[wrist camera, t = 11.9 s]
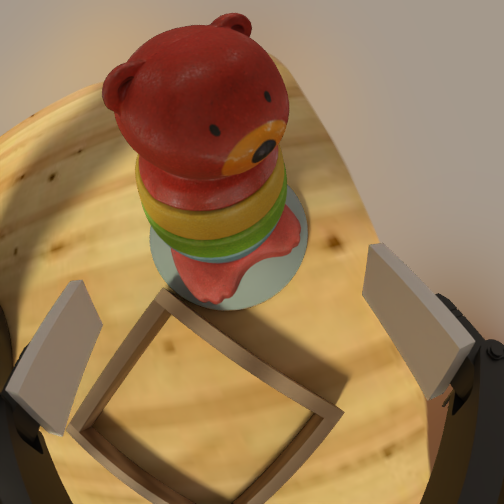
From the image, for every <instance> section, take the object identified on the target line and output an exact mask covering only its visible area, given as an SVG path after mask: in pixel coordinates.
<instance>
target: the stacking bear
mask: <svg viewBox="0 0 504 504" xmlns="http://www.w3.org/2000/svg"><path fill="white" fill-rule="evenodd" d="M251 30H252V26H251V22H250V21H249V20H248V18H247V17H246V16H244V15H242V14H238V13H229V14H224V15H222V16H220V17H218V18H217V19H215V20H214V21H213V22H212V23H211V24H210V25H191V26H185V27H180V28H175V29H172V30H169V31H166V32H163V33H161V34H159V35H156V36H155V37H153V38H151V39H150V40H148V41H147V42H146V43H144V44H143V45H142V46H141V47H139V48H138V50H136V52H135V53H134V54H133V55H132V56H131V57H130V59H129V60H128V61H127V62H126V63H124V64H121V65H119V66H117V67H116V68H114V69H113V70H112V71H111V72H110V73H109V74H108V76H107V77H106V79H105V81H104V84H103V88H102V98H103V100H104V103H105V105H106V107H107V108H108V109H110V110H112V111H114V114H115V118H116V122H117V124H118V127H119V129H120V131H121V133H122V135H123V136H124V138H125V139H126V141H127V142H128V143H129V145H130V146H131V147H132V148H133V149H134V150H135V151H136V152H137V153H138V156H137V160H136V166H135V175H136V183H137V188H138V192H139V195H140V199H141V203H142V206H143V209H144V212H145V214H146V217H147V219H148V221H149V223H150V224H151V226H152V228H153V229H154V231H155V232H156V233H157V235H158V236H159V237H160V238H161V239H162V240H163V241H164V242H165V243H166V244H167V245H168V246H169V247H170V248H171V253H172V257H173V260H174V263H175V266H176V269H177V271H178V273H179V275H180V277H181V279H182V280H183V282H184V284H185V285H186V287H187V288H188V289H189V291H190V292H191V293H192V294H193V295H194V296H195V298H197V299H198V300H199V301H201V302H203V303H206V302H211V303H213V304H220V303H221V302H222V301H223V300H224V299H228V298H231V297H232V296H233V295H234V294H235V292H236V290H237V288H238V285H239V283H240V281H241V279H242V277H243V276H244V274H245V273H246V272H247V270H248V269H249V268H250V267H252V266H253V265H254V264H256V263H257V262H259V261H261V260H264V259H267V258H272V257H282V256H285V255H288V254H289V253H291V251H292V249H293V248H295V247H297V246H298V245H299V242H300V232H301V225H300V222H299V220H298V219H297V217H296V216H295V214H294V213H293V212H292V211H291V209H290V208H289V207H288V206H287V205H286V204H285V202H286V197H287V176H286V169H285V164H284V161H283V156H282V152H281V148H280V145H279V142H280V141H281V139H282V137H283V135H284V132H285V129H286V125H287V122H288V116H289V100H288V94H287V91H286V87H285V84H284V82H283V79H282V77H281V75H280V73H279V71H278V69H277V67H276V65H275V63H274V62H273V60H272V59H271V58H270V56H269V55H268V53H267V52H266V51H265V50H264V49H263V48H262V47H261V46H260V45H259V44H258V43H256V42H255V41H254V40H252V39H251V38H249V37H250V34H251Z"/></svg>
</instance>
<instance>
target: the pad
mask: <svg viewBox="0 0 504 504" xmlns="http://www.w3.org/2000/svg"><path fill="white" fill-rule="evenodd" d="M285 204H286V205H287V206H288V207H289V208H290V209H291V211H292V212H293V213H294V214H295V216H296V217H297V219H298V220H299V222H300V225H301V232H300V242H299V245H298V246H297V247H295V248H293V249H292V251H291V253H289V254H288V255H285V256H282V257H272V258H267V259H264V260H261V261H259V262H257V263H256V264H254V265H253V266H252V267H250V268H249V269H248V270H247V272H246V273H245V274H244V276H243V277H242V279H241V281H240V283H239V285H238V288H237V290H236V292H235V294H234V295H233V296H232V297H231V298H228V299H224V300H223V301H222V302H221V303H220V304H213V303H211V302H206V303H203V302H201V301H199V300H198V299H197V298H195V296H194V295H193V294H192V293H191V292H190V291H189V289H188V288H187V287H186V285H185V284H184V282H183V280H182V279H181V277H180V275H179V273H178V271H177V269H176V266H175V263H174V260H173V257H172V253H171V248H170V247H169V246H168V245H167V244H166V243H165V242H164V241H163V240H162V239H161V238H160V237H159V236H158V235H157V233H156V232H155V231H154V229H153V228H152V226H151V228H150V248H151V253H152V257H153V260H154V263H155V265H156V268H157V270H158V271H159V273H160V275H161V276H162V278H163V279H164V280H165V282H166V283H167V284H168V285H169V286H170V287H171V288H172V289H173V290H174V291H175V292H176V293H177V294H179V295H180V296H182V297H183V298H185V299H186V300H188V301H190V302H192V303H194V304H196V305H199V306H201V307H204V308H208V309H213V310H219V311H234V310H242V309H246V308H251V307H253V306H256V305H259V304H261V303H263V302H265V301H267V300H269V299H271V298H272V297H273V296H275V295H276V294H277V293H279V292H280V291H281V290H282V289H283V288H284V287H285V286H286V285H287V284H288V283H289V281H290V280H291V279H292V278H293V276H294V275H295V274H296V272H297V270H298V268H299V267H300V265H301V262H302V260H303V257H304V255H305V251H306V247H307V238H308V229H307V221H306V216H305V213H304V210H303V207H302V205H301V203H300V201H299V199H298V197H297V196H296V194H295V193H294V191H293V190H292V189H291V188H290V187H289V186H288V185H287V197H286V202H285Z"/></svg>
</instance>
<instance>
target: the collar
mask: <svg viewBox="0 0 504 504" xmlns="http://www.w3.org/2000/svg"><path fill="white" fill-rule="evenodd" d="M171 314H172V315H173V316H174V317H175V318H177V319H178V320H179V321H180V322H182V323H183V324H184V325H185V326H187V327H188V328H189V329H191V330H192V331H193V332H194V333H196V334H197V335H198V336H200V337H201V338H202V339H204V340H205V341H206V342H208V343H209V344H210V345H212V346H213V347H214V348H216V349H217V350H218V351H220V352H221V353H223V354H224V355H225V356H227V357H228V358H230V359H231V360H232V361H234V362H235V363H237V364H238V365H240V366H241V367H242V368H244V369H245V370H247V371H248V372H250V373H251V374H253V375H254V376H256V377H257V378H259V379H260V380H262V381H263V382H265V383H266V384H268V385H270V386H271V387H273V388H274V389H276V390H277V391H279V392H281V393H282V394H284V395H285V396H287V397H289V398H290V399H292V400H294V401H295V402H297V403H299V404H300V405H302V406H304V407H305V408H307V409H309V410H311V411H312V412H314V413H315V414H314V415H313V416H312V417H311V419H310V420H309V421H308V423H307V424H306V425H305V426H304V428H303V429H302V430H301V431H300V433H299V434H298V435H297V436H296V437H295V439H294V440H293V441H292V442H291V443H290V445H289V446H288V447H287V448H286V449H285V450H284V451H283V453H282V454H281V455H280V456H279V457H278V458H277V459H276V460H275V461H274V463H273V464H272V465H271V466H270V467H269V468H268V469H267V470H266V471H265V472H264V473H263V474H262V475H261V476H260V477H259V478H258V479H257V480H256V481H255V482H254V483H253V484H252V485H251V486H250V487H249V488H248V489H247V490H246V491H245V492H244V493H243V494H242V495H241V496H240V497H239V498H238V499H236V500H235V501H234V502H233V503H232V504H264V503H265V502H266V501H267V500H268V499H269V498H270V497H272V496H273V495H274V494H275V493H276V492H277V491H278V490H279V489H280V488H281V487H282V486H283V485H284V484H285V483H286V482H287V481H288V480H289V479H290V478H291V477H292V476H293V475H294V473H295V472H296V471H297V470H298V469H299V468H300V467H301V466H302V465H303V464H304V463H305V461H306V460H307V459H308V458H309V457H310V456H311V455H312V453H313V452H314V451H315V450H316V449H317V447H318V446H319V445H320V444H321V443H322V441H323V440H324V439H325V438H326V436H327V435H328V434H329V433H330V431H331V430H332V429H333V427H334V426H335V425H336V424H337V422H338V421H339V420H340V418H341V417H342V415H343V414H344V413H345V412H344V411H342V410H341V409H340V408H338V407H337V406H336V405H334V404H332V403H330V402H329V401H327V400H325V399H324V398H322V397H320V396H318V395H317V394H315V393H313V392H312V391H310V390H309V389H307V388H305V387H304V386H302V385H300V384H299V383H297V382H296V381H294V380H292V379H291V378H289V377H288V376H286V375H285V374H283V373H281V372H280V371H278V370H277V369H275V368H274V367H272V366H271V365H269V364H268V363H266V362H265V361H263V360H262V359H260V358H259V357H257V356H256V355H254V354H253V353H251V352H250V351H249V350H247V349H246V348H244V347H243V346H241V345H240V344H239V343H237V342H236V341H234V340H233V339H232V338H230V337H229V336H227V335H226V334H225V333H223V332H222V331H221V330H219V329H218V328H216V327H215V326H214V325H212V324H211V323H210V322H208V321H207V320H206V319H204V318H203V317H202V316H201V315H199V314H198V313H197V312H195V311H194V310H193V309H191V308H190V307H189V306H188V305H186V304H185V303H184V302H183V301H181V300H180V299H179V298H178V297H176V296H175V295H174V294H173V293H171V292H170V291H168V290H166V289H165V288H162V289H161V290H160V292H159V293H158V294H157V296H156V297H155V298H154V300H153V301H152V303H151V304H150V305H149V307H148V308H147V309H146V311H145V312H144V313H143V315H142V316H141V318H140V319H139V320H138V322H137V323H136V324H135V326H134V327H133V329H132V330H131V331H130V333H129V334H128V336H127V337H126V338H125V340H124V341H123V343H122V344H121V346H120V347H119V348H118V350H117V351H116V353H115V354H114V356H113V357H112V359H111V360H110V362H109V363H108V364H107V366H106V367H105V369H104V370H103V372H102V373H101V375H100V376H99V378H98V379H97V381H96V382H95V384H94V385H93V387H92V389H91V390H90V392H89V393H88V395H87V396H86V398H85V399H84V401H83V402H82V404H81V406H80V407H79V409H78V410H77V412H76V414H75V415H74V417H73V418H72V420H71V422H70V423H69V425H68V427H67V428H66V431H67V432H68V433H69V434H70V435H71V436H72V437H73V438H74V439H75V440H76V441H77V442H78V443H79V444H80V445H81V446H82V447H83V448H84V449H85V450H86V451H87V452H88V453H89V454H90V455H91V456H92V457H93V458H94V459H96V460H97V461H98V462H99V463H100V464H101V465H102V466H104V467H105V468H106V469H107V470H108V471H109V472H111V473H112V474H113V475H114V476H116V477H117V478H118V479H119V480H121V481H122V482H123V483H125V484H126V485H127V486H129V487H130V488H131V489H133V490H134V491H135V492H137V493H138V494H140V495H141V496H143V497H144V498H146V499H147V500H149V501H150V502H152V503H153V504H196V503H194V502H192V501H190V500H189V499H187V498H185V497H184V496H182V495H180V494H179V493H177V492H175V491H174V490H172V489H171V488H169V487H167V486H166V485H164V484H163V483H161V482H160V481H158V480H157V479H155V478H154V477H153V476H151V475H150V474H148V473H147V472H146V471H144V470H143V469H142V468H140V467H139V466H138V465H136V464H135V463H134V462H132V461H131V460H130V459H129V458H127V457H126V456H125V455H124V454H122V453H121V452H120V451H119V450H118V449H116V448H115V447H114V446H113V445H112V444H111V443H109V442H108V441H107V440H106V439H105V438H104V437H103V436H102V435H101V434H100V433H98V432H97V431H96V430H95V429H94V428H93V427H92V425H93V423H94V422H95V421H96V419H97V418H98V416H99V415H100V413H101V412H102V410H103V409H104V407H105V406H106V405H107V403H108V402H109V400H110V399H111V397H112V396H113V395H114V393H115V392H116V390H117V389H118V387H119V386H120V385H121V383H122V382H123V380H124V379H125V377H126V376H127V375H128V373H129V372H130V370H131V369H132V368H133V366H134V365H135V363H136V362H137V361H138V359H139V358H140V357H141V355H142V354H143V352H144V351H145V350H146V348H147V347H148V346H149V344H150V343H151V341H152V340H153V339H154V337H155V336H156V335H157V333H158V332H159V331H160V329H161V328H162V326H163V325H164V324H165V322H166V321H167V320H168V318H169V317H170V316H171Z"/></svg>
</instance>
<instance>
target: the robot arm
mask: <svg viewBox="0 0 504 504" xmlns="http://www.w3.org/2000/svg"><path fill="white" fill-rule="evenodd" d="M362 295H363V297H364V298H365V300H366V301H367V303H368V304H369V306H370V307H371V309H372V310H373V312H374V313H375V315H376V316H377V318H378V319H379V321H380V322H381V324H382V325H383V327H384V329H385V330H386V332H387V333H388V335H389V336H390V338H391V340H392V341H393V343H394V344H395V346H396V348H397V349H398V351H399V352H400V354H401V356H402V357H403V359H404V361H405V362H406V364H407V366H408V367H409V369H410V371H411V372H412V374H413V376H414V377H415V379H416V381H417V383H418V384H419V386H420V388H421V390H422V391H423V393H424V395H425V397H426V398H427V400H430V399H432V398H435V397H437V396H439V395H441V394H443V393H444V391H445V390H446V389H447V387H448V386H449V384H451V386H452V387H453V390H452V392H451V393H450V395H449V396H448V397H447V399H446V400H445V401H444V403H443V405H442V407H445V406H446V404H447V403H448V401H449V406H448V412H447V417H446V422H445V426H444V431H443V435H442V439H441V443H440V447H439V450H438V454H437V457H436V460H435V464H434V467H433V470H432V473H431V476H430V479H429V482H428V484H427V487H426V490H425V492H424V495H423V497H422V500H421V502H420V504H504V345H503V344H502V343H500V342H499V341H496V340H492V339H489V340H485V339H484V338H483V337H482V336H481V335H480V334H479V333H478V331H477V330H476V329H475V328H474V327H473V326H472V324H471V323H470V322H469V321H468V320H467V319H466V317H464V316H463V314H462V313H461V312H460V311H459V310H457V307H455V305H454V304H453V303H452V302H451V301H450V300H449V299H447V298H446V297H444V296H442V295H441V294H439V293H438V294H434V293H433V292H432V291H431V290H430V289H429V288H428V287H427V286H426V285H425V284H424V282H422V280H421V279H420V278H419V277H418V276H417V275H416V274H415V273H414V272H413V271H412V270H411V269H410V268H409V267H408V266H407V265H406V264H404V262H403V261H402V260H400V259H399V258H398V257H397V256H396V255H395V254H394V253H393V252H392V251H391V250H390V249H389V248H388V247H387V246H386V245H385V244H384V243H379V244H371V245H369V249H368V257H367V265H366V272H365V279H364V285H363V291H362ZM102 326H103V324H102V322H101V320H100V318H99V316H98V313H97V311H96V309H95V307H94V305H93V303H92V301H91V298H90V296H89V294H88V292H87V289H86V287H85V285H84V282H83V280H76V281H70V282H69V284H68V285H67V286H66V288H65V289H64V291H63V292H62V294H61V295H60V296H59V298H58V299H57V301H56V302H55V304H54V305H53V307H52V308H51V310H50V311H49V313H48V314H47V316H46V317H45V319H44V320H43V322H42V324H41V325H40V327H39V328H38V330H37V332H36V333H35V335H34V337H33V338H32V340H31V342H30V343H29V344H28V345H27V346H26V347H25V348H24V349H23V351H22V353H21V355H20V356H19V359H18V360H17V362H16V364H15V367H14V368H13V369H12V351H11V342H10V336H9V331H8V326H7V323H6V319H5V316H4V313H3V311H2V308H1V306H0V504H73V503H72V501H71V499H70V497H69V496H68V494H67V492H66V490H65V488H64V486H63V484H62V481H61V479H60V477H59V475H58V473H57V470H56V468H55V466H54V463H53V461H52V458H51V456H50V453H49V451H48V448H47V445H46V443H45V440H44V437H43V435H42V433H41V432H40V431H39V427H40V426H42V427H43V428H44V429H45V430H46V431H47V432H48V433H51V434H54V435H58V436H62V437H63V434H64V430H65V427H66V424H67V420H68V417H69V414H70V410H71V407H72V404H73V401H74V398H75V395H76V392H77V389H78V387H79V384H80V381H81V378H82V376H83V373H84V370H85V368H86V365H87V362H88V360H89V357H90V355H91V352H92V350H93V347H94V345H95V343H96V340H97V338H98V335H99V333H100V331H101V328H102Z"/></svg>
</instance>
